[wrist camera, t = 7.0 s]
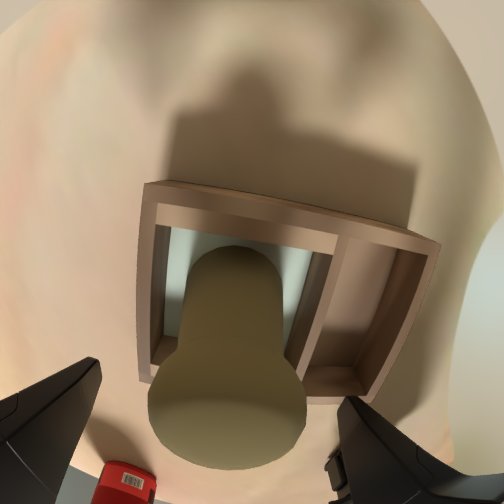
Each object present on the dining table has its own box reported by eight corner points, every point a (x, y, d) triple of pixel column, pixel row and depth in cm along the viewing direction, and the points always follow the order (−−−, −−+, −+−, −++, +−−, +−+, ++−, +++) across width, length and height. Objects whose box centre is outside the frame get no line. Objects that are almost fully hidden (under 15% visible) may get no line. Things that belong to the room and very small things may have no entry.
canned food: (95, 456, 25) (74, 513, 14) (142, 463, 25) (126, 530, 14) (121, 480, 27) (107, 532, 16) (166, 486, 27) (156, 544, 16)
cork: (182, 244, 16) (94, 366, 5) (286, 246, 16) (355, 375, 5) (188, 332, 18) (149, 478, 7) (279, 334, 18) (310, 483, 7)
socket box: (407, 229, 17) (441, 244, 13) (354, 370, 20) (370, 402, 16) (167, 179, 15) (144, 183, 12) (154, 346, 19) (139, 381, 15)
